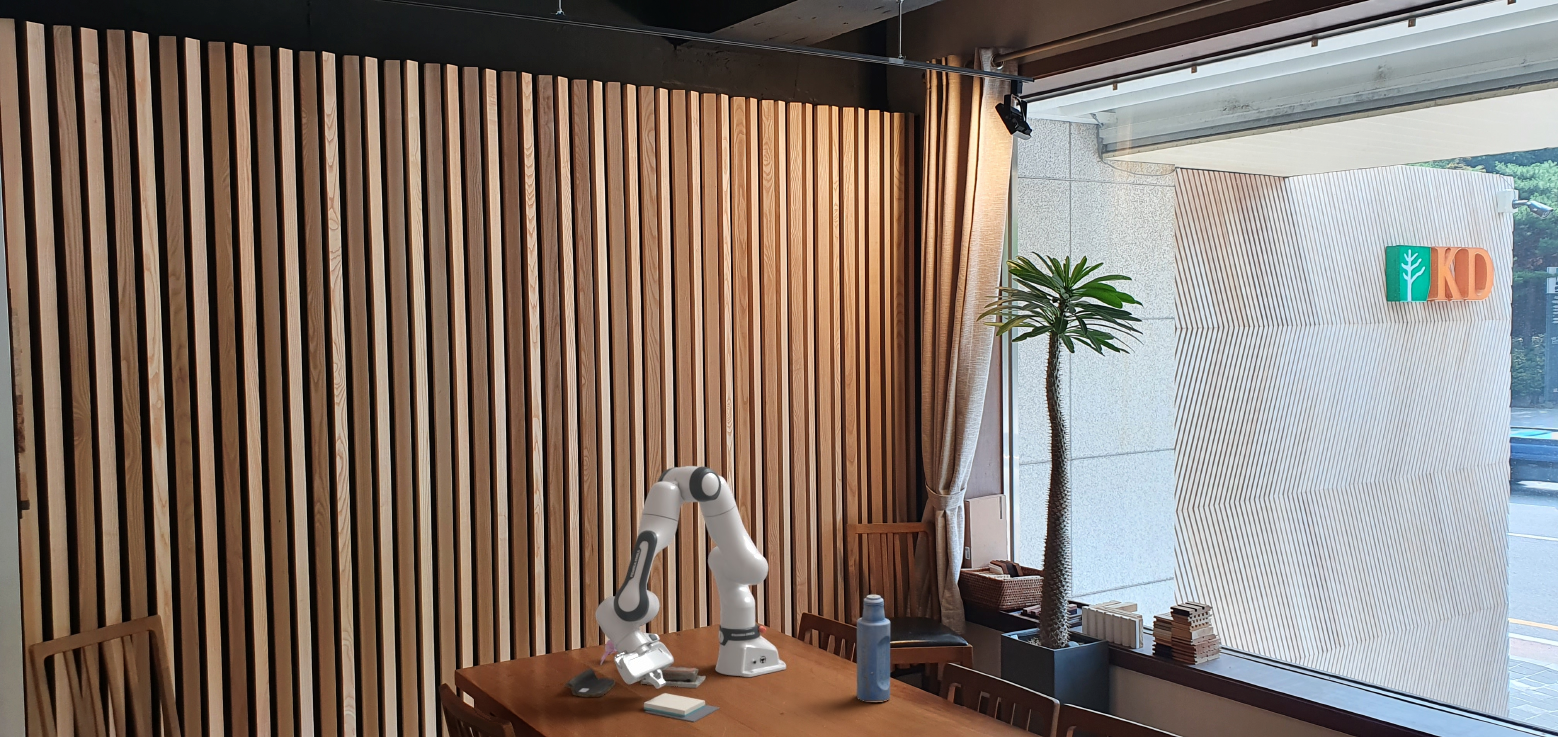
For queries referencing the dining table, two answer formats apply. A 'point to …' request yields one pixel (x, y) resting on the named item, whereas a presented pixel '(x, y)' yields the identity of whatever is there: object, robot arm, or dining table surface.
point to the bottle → (873, 651)
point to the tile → (674, 705)
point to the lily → (608, 650)
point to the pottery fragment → (590, 684)
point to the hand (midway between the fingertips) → (661, 685)
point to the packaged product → (680, 677)
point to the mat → (691, 717)
